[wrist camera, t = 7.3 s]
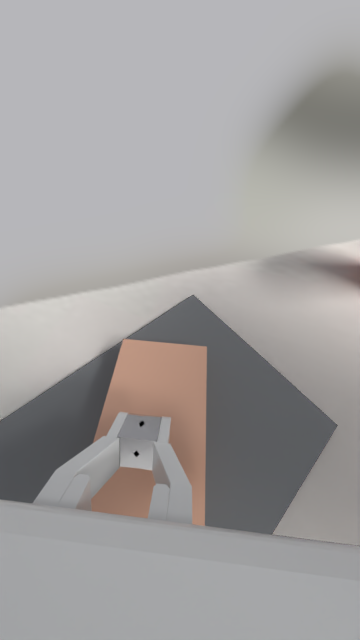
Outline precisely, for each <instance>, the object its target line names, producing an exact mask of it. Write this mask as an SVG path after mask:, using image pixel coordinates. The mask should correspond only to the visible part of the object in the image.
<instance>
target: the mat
mask: <svg viewBox="0 0 360 640" xmlns="http://www.w3.org/2000/svg"><path fill="white" fill-rule="evenodd" d="M126 339H131V340H141V341H152V342H163V343H174V344H184V345H195V346H206V347H207V380H206V465H205V526H210V527H218V528H225V529H233V530H241V531H248V532H256V533H264V534H271V535H272V533H273V531H274V530H275V528H276V527H277V525H278V523H279V522H280V520H281V518H282V517H283V515H284V513H285V512H286V510H287V508H288V507H289V505H290V503H291V502H292V500H293V498H294V497H295V495H296V493H297V492H298V490H299V488H300V487H301V485H302V483H303V482H304V480H305V479H306V477H307V475H308V474H309V472H310V470H311V469H312V467H313V465H314V464H315V462H316V460H317V459H318V457H319V455H320V454H321V452H322V450H323V449H324V447H325V445H326V444H327V442H328V440H329V439H330V437H331V435H332V434H333V432H334V430H335V429H336V427H337V426H338V425H337V424H335V423H334V422H333V421H332V420H331V419H330V418H329V417H328V416H327V415H326V414H324V413H323V412H322V411H321V410H320V409H319V408H318V407H317V406H316V405H315V404H313V403H312V402H311V401H310V400H309V399H308V398H307V397H306V396H305V395H303V394H302V393H301V392H300V391H299V390H298V389H297V388H296V387H295V386H294V385H292V384H291V383H290V382H289V381H288V380H287V379H286V378H285V377H284V376H282V375H281V374H280V373H279V372H278V371H277V370H276V369H275V368H274V367H273V366H271V365H270V364H269V363H268V362H267V361H266V360H265V359H264V358H263V357H261V356H260V355H259V354H258V353H257V352H256V351H255V350H254V349H253V348H252V347H250V346H249V345H248V344H247V343H246V342H245V341H244V340H243V339H242V338H240V337H239V336H238V335H237V334H236V333H235V332H234V331H233V330H232V329H231V328H229V327H228V326H227V325H226V324H225V323H224V322H223V321H222V320H221V319H219V318H218V317H217V316H216V315H215V314H214V313H213V312H212V311H211V310H210V309H208V308H207V307H206V306H205V305H204V304H203V303H202V302H201V301H200V300H198V299H197V298H196V297H195V296H194V295H192V296H190V297H189V298H187V299H186V300H184V301H183V302H181V303H180V304H178V305H177V306H175V307H174V308H172V309H171V310H169V311H168V312H166V313H165V314H163V315H161V316H160V317H158V318H157V319H155V320H154V321H152V322H151V323H149V324H148V325H146V326H145V327H143V328H142V329H140V330H139V331H137V332H136V333H134V334H133V335H131V336H129V337H128V338H126ZM122 342H123V341H122ZM122 342H120V343H119V344H117V345H116V346H114V347H113V348H111V349H110V350H108V351H107V352H105V353H104V354H102V355H101V356H99V357H97V358H96V359H94V360H93V361H91V362H90V363H88V364H87V365H85V366H84V367H82V368H81V369H79V370H78V371H76V372H75V373H73V374H72V375H70V376H69V377H67V378H65V379H64V380H62V381H61V382H59V383H58V384H56V385H55V386H53V387H52V388H50V389H49V390H47V391H46V392H44V393H43V394H41V395H40V396H38V397H36V398H35V399H33V400H32V401H30V402H29V403H27V404H26V405H24V406H23V407H21V408H20V409H18V410H17V411H15V412H14V413H12V414H11V415H9V416H8V417H6V418H4V419H3V420H1V421H0V499H2V500H9V501H17V502H25V503H33V502H34V500H35V499H36V497H37V496H38V495H39V493H40V492H41V490H42V489H43V488H44V486H45V485H46V483H47V482H48V480H49V479H50V478H51V476H52V475H53V473H54V472H55V471H56V469H58V468H59V467H61V466H62V465H63V464H65V463H66V462H68V461H69V460H70V459H72V458H73V457H75V456H76V455H77V454H79V453H80V452H82V451H83V450H84V449H86V448H87V447H89V446H90V445H91V444H93V441H94V438H95V434H96V431H97V427H98V424H99V421H100V417H101V414H102V410H103V407H104V403H105V400H106V397H107V393H108V390H109V386H110V383H111V379H112V376H113V373H114V369H115V366H116V362H117V359H118V355H119V352H120V349H121V345H122Z"/></svg>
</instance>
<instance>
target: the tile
mask: <svg viewBox="0 0 360 640" xmlns="http://www.w3.org/2000/svg"><path fill="white" fill-rule="evenodd" d="M206 380H207V347H206V346H195V345H184V344H174V343H163V342H152V341H141V340H131V339H123V342H122V345H121V349H120V352H119V355H118V359H117V362H116V366H115V369H114V373H113V376H112V379H111V383H110V386H109V390H108V393H107V397H106V400H105V403H104V407H103V410H102V414H101V417H100V421H99V424H98V427H97V431H96V434H95V438H94V441H93V443H94V442H96V441H97V440H98V439H100V438H101V437H103V436H107V434H108V432H109V430H110V428H111V426H112V424H113V422H114V421H115V419H116V417H117V415H118V413H119V412H126V413H135V414H143V415H153V416H163V417H171V424H170V436H169V444H171V446H172V448H173V450H174V452H175V454H176V456H177V458H178V460H179V462H180V464H181V466H182V468H183V470H184V472H185V474H186V476H187V478H188V480H189V482H190V484H191V486H192V524H195V525H202V526H205V465H206ZM155 485H156V483H155V480H154V476H153V473H152V470H146V469H140V468H131V467H119V469H118V470H117V471H116V472H115V473H114V474H113V475H112V477H111V478H110V479H109V480H108V481H107V482H106V483H105V484H104V485H103V487H102V488H101V489H100V490H99V491H98V492H97V493H96V494H95V495H94V496H93V498H92V499H91V508H92V511H94V512H102V513H109V514H117V515H125V516H132V517H140V518H148V514H149V509H150V503H151V498H152V493H153V487H154V486H155Z"/></svg>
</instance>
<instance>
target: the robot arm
mask: <svg viewBox="0 0 360 640" xmlns="http://www.w3.org/2000/svg"><path fill="white" fill-rule="evenodd" d="M170 424H171V417H163V416H153V415H143V414H135V413H126V412H119V413H118V415H117V417H116V419H115V421H114V422H113V424H112V426H111V428H110V430H109V432H108V434H107V436H103V437H101V438H100V439H98V440H97V441H96V442H94V443H93V444H91V445H90V446H89V447H87V448H86V449H84V450H83V451H82V452H80V453H79V454H77V455H76V456H75V457H73V458H72V459H70V460H69V461H68V462H66V463H65V464H63V465H62V466H61V467H59V468H58V469H56V471H55V472H54V473H53V475H52V476H51V478H50V479H49V480H48V482H47V483H46V485H45V486H44V488H43V489H42V490H41V492H40V493H39V495H38V496H37V497H36V499H35V500H34V502H33V503H25V502H17V501H9V500H2V499H0V640H360V546H356V545H348V544H341V543H333V542H325V541H318V540H310V539H302V538H294V537H287V536H279V535H271V534H264V533H256V532H248V531H241V530H233V529H225V528H218V527H210V526H202V525H195V524H192V486H191V484H190V482H189V480H188V478H187V476H186V474H185V472H184V470H183V468H182V466H181V464H180V462H179V460H178V458H177V456H176V454H175V452H174V450H173V448H172V446H171V444H169V436H170ZM119 467H131V468H140V469H146V470H152V473H153V476H154V480H155V483H156V485H155V486H154V487H153V493H152V498H151V503H150V509H149V514H148V518H140V517H132V516H125V515H117V514H109V513H102V512H94V511H92V508H91V499H92V498H93V496H94V495H95V494H96V493H97V492H98V491H99V490H100V489H101V488H102V487H103V485H104V484H105V483H106V482H107V481H108V480H109V479H110V478H111V477H112V475H113V474H114V473H115V472H116V471H117V470H118V469H119Z"/></svg>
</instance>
